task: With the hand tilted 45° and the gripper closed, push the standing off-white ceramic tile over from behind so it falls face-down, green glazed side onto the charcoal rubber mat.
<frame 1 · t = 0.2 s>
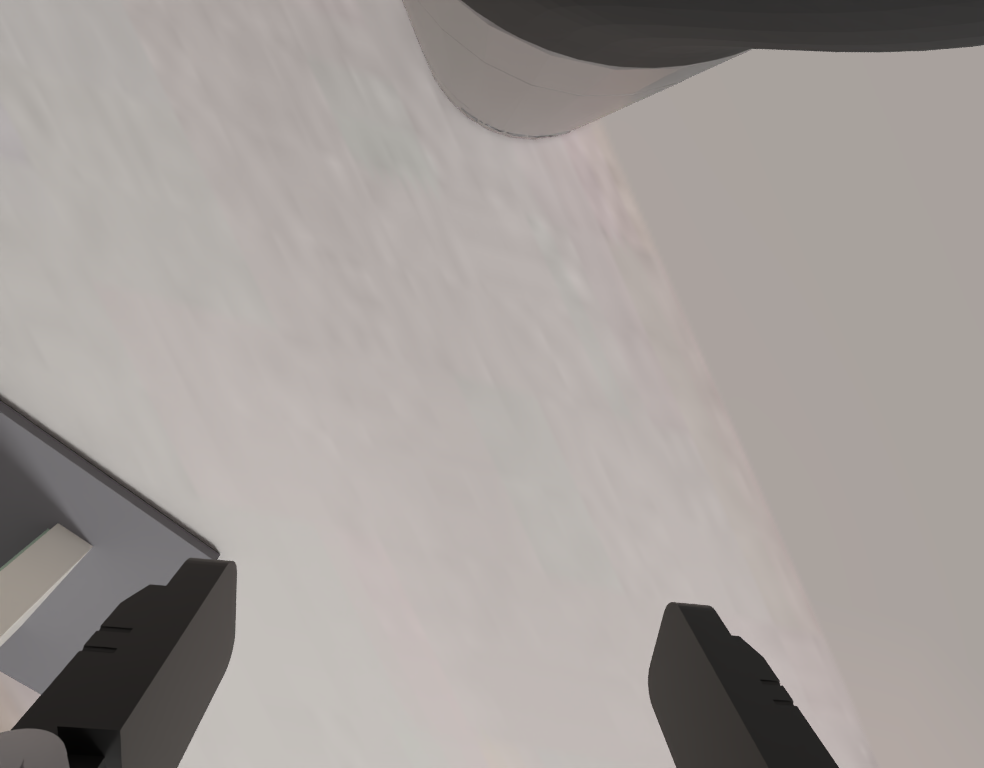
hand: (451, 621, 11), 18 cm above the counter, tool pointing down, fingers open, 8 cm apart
glazed tile: (38, 576, 30), point 1 cm above the counter, touching rubber mat
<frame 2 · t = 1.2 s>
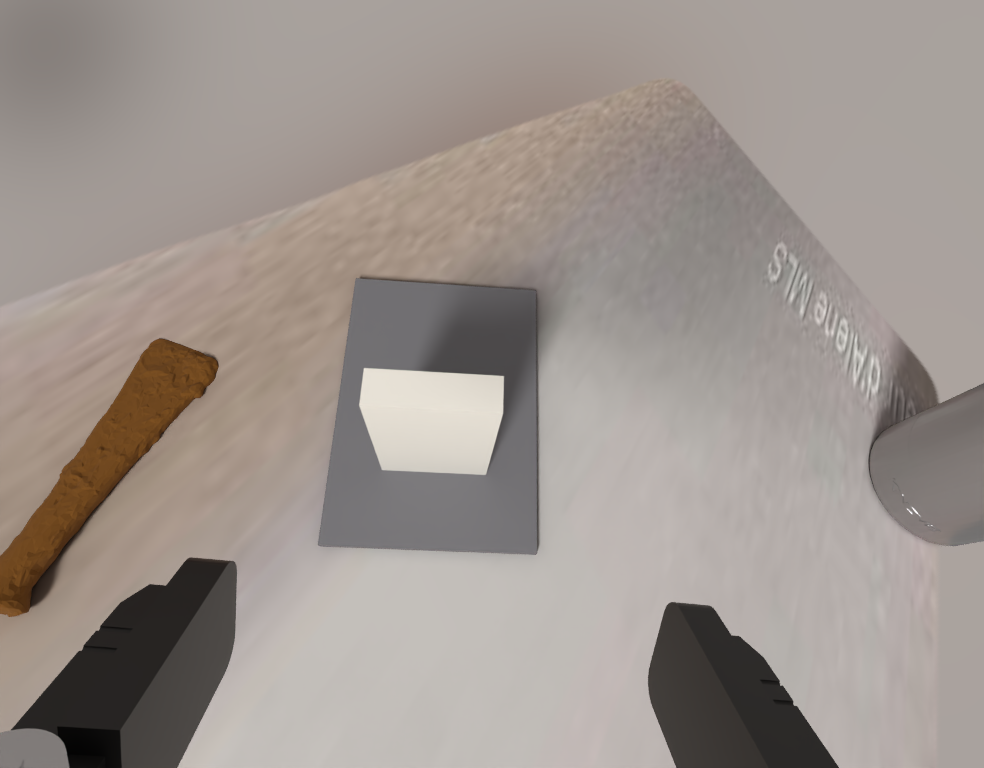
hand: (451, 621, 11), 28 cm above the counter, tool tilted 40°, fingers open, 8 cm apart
glazed tile: (435, 458, 40), point 1 cm above the counter, touching rubber mat
primitive tool: (110, 463, 39), on the counter
rubber mat: (438, 407, 42), on the counter
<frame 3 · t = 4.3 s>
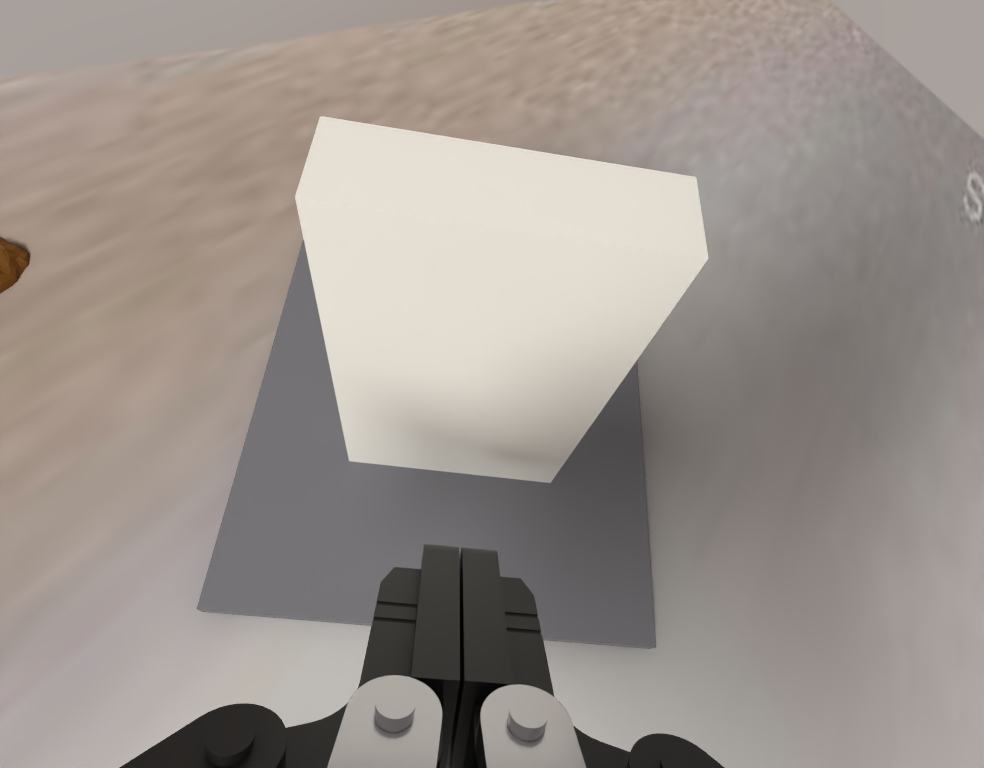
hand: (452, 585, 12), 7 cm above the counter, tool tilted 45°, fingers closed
glazed tile: (454, 445, 21), point 1 cm above the counter, touching rubber mat
rubber mat: (461, 358, 23), on the counter
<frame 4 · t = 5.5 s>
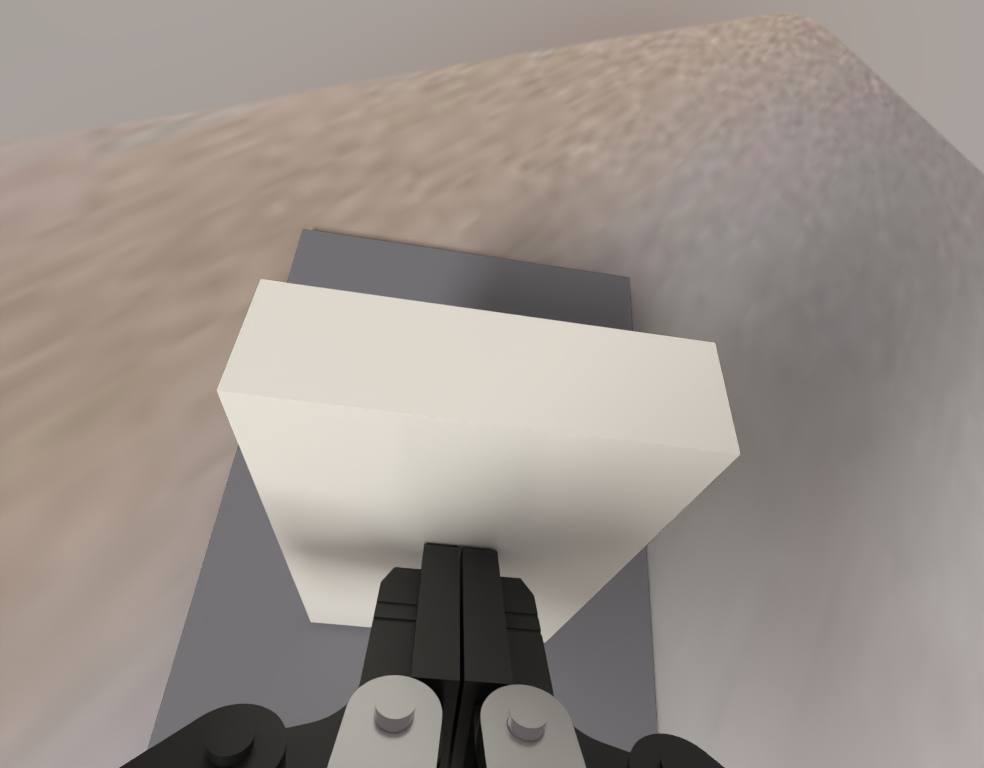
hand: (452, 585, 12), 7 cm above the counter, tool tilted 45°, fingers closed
glazed tile: (433, 598, 18), point 1 cm above the counter, tilted 7°, touching rubber mat
rubber mat: (444, 482, 21), on the counter
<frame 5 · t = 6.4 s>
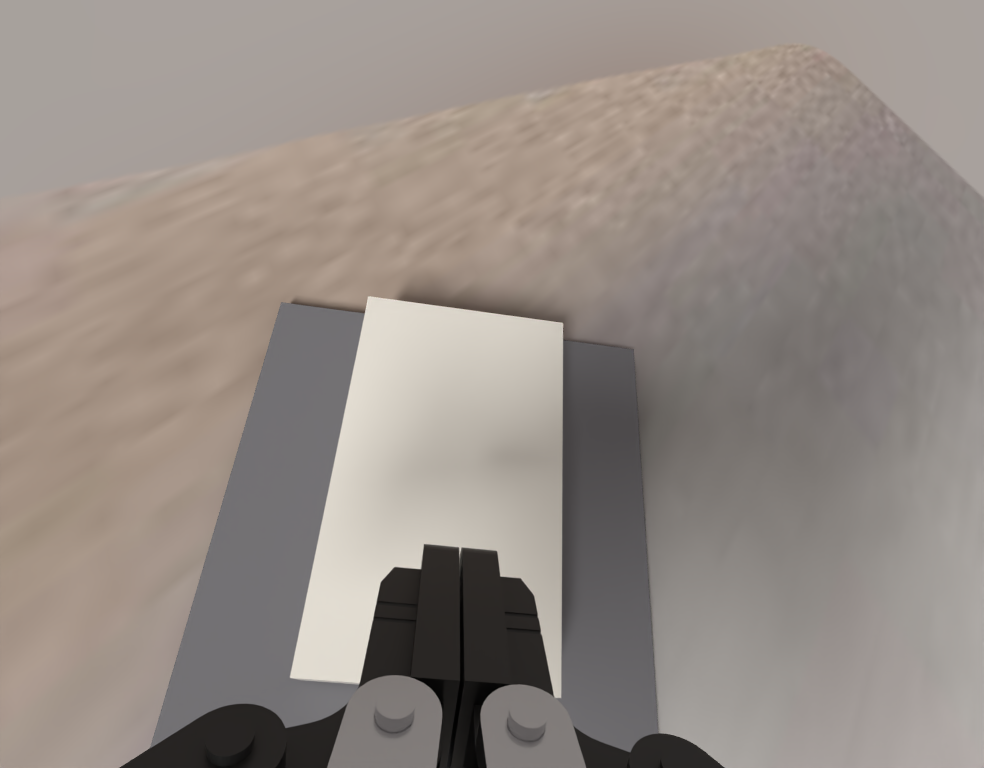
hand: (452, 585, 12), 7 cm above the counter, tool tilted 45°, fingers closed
glazed tile: (426, 688, 16), point 2 cm above the counter, tilted 90°, touching rubber mat
rubber mat: (433, 594, 19), on the counter
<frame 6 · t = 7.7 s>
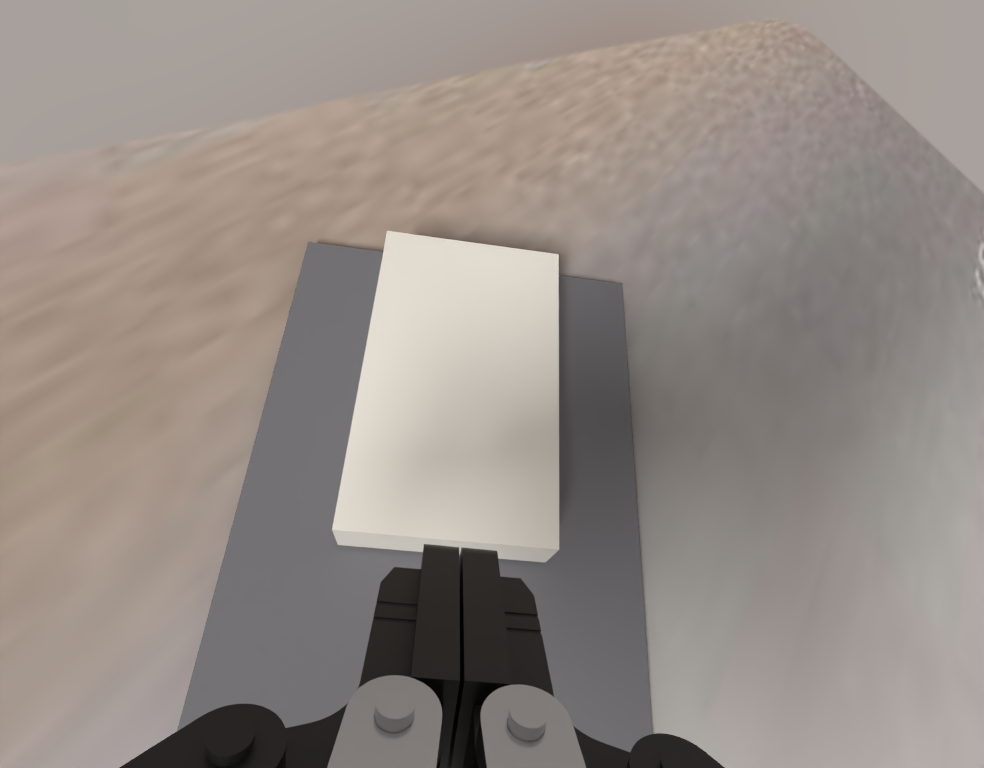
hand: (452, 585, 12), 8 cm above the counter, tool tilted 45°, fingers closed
glazed tile: (445, 547, 19), point 2 cm above the counter, tilted 90°, touching rubber mat
rubber mat: (448, 483, 22), on the counter
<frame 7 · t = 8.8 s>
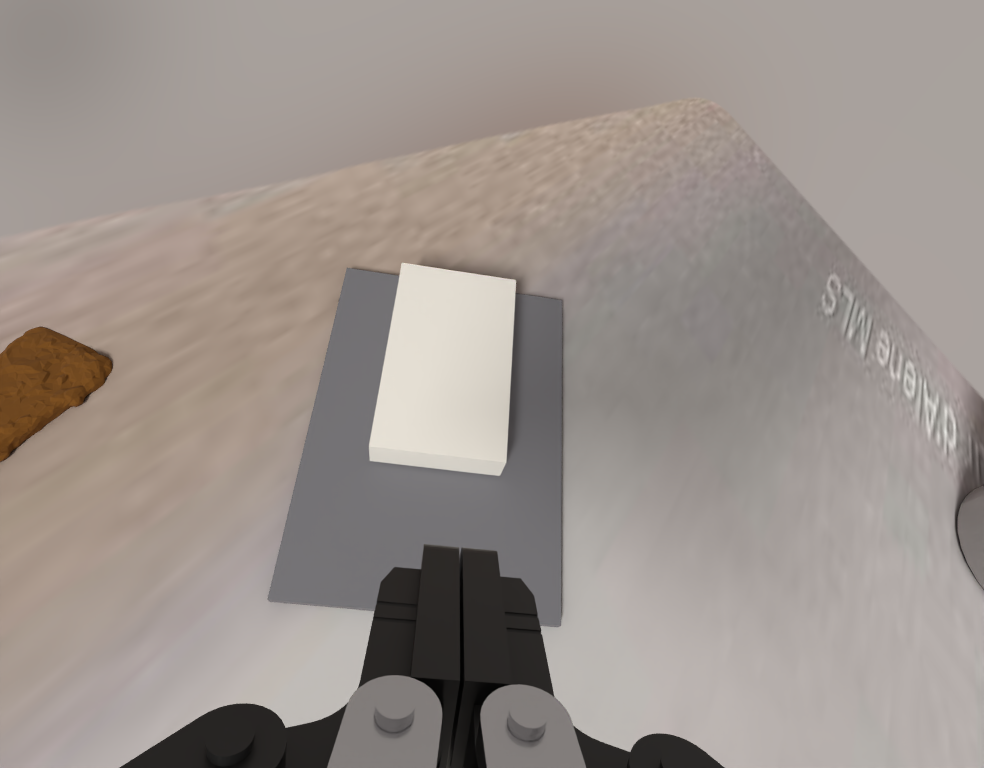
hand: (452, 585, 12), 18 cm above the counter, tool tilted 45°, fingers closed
glazed tile: (436, 461, 30), point 2 cm above the counter, tilted 90°, touching rubber mat
rubber mat: (439, 428, 33), on the counter
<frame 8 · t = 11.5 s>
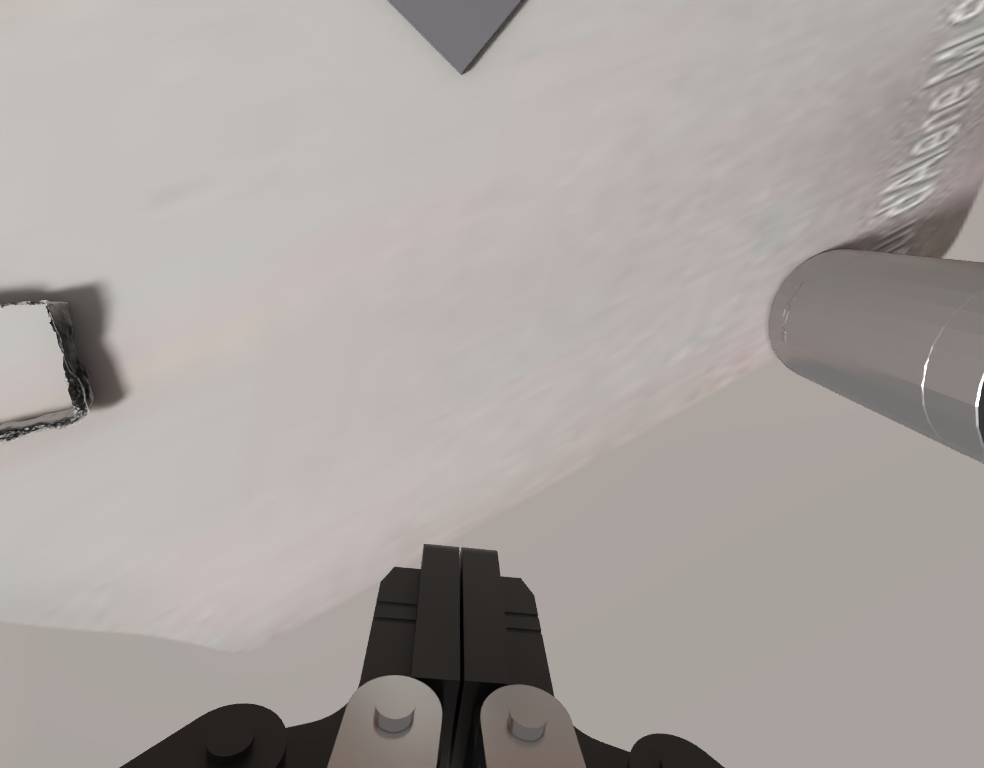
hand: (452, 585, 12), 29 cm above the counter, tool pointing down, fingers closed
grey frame: (0, 368, 39), on the counter
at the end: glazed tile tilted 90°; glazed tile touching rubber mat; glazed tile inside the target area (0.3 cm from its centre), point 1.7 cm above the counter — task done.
